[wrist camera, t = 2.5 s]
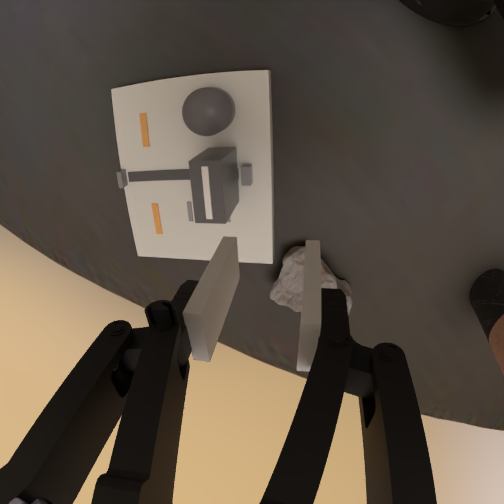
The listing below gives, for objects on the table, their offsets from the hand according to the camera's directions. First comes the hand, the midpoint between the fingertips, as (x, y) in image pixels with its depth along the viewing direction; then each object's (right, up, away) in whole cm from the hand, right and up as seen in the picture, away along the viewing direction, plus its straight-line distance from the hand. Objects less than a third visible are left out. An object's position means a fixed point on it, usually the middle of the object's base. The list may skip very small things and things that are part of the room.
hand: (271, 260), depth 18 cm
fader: (-4, +9, +16) cm, 18 cm away
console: (-8, +10, +19) cm, 22 cm away
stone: (+7, -2, +23) cm, 24 cm away
